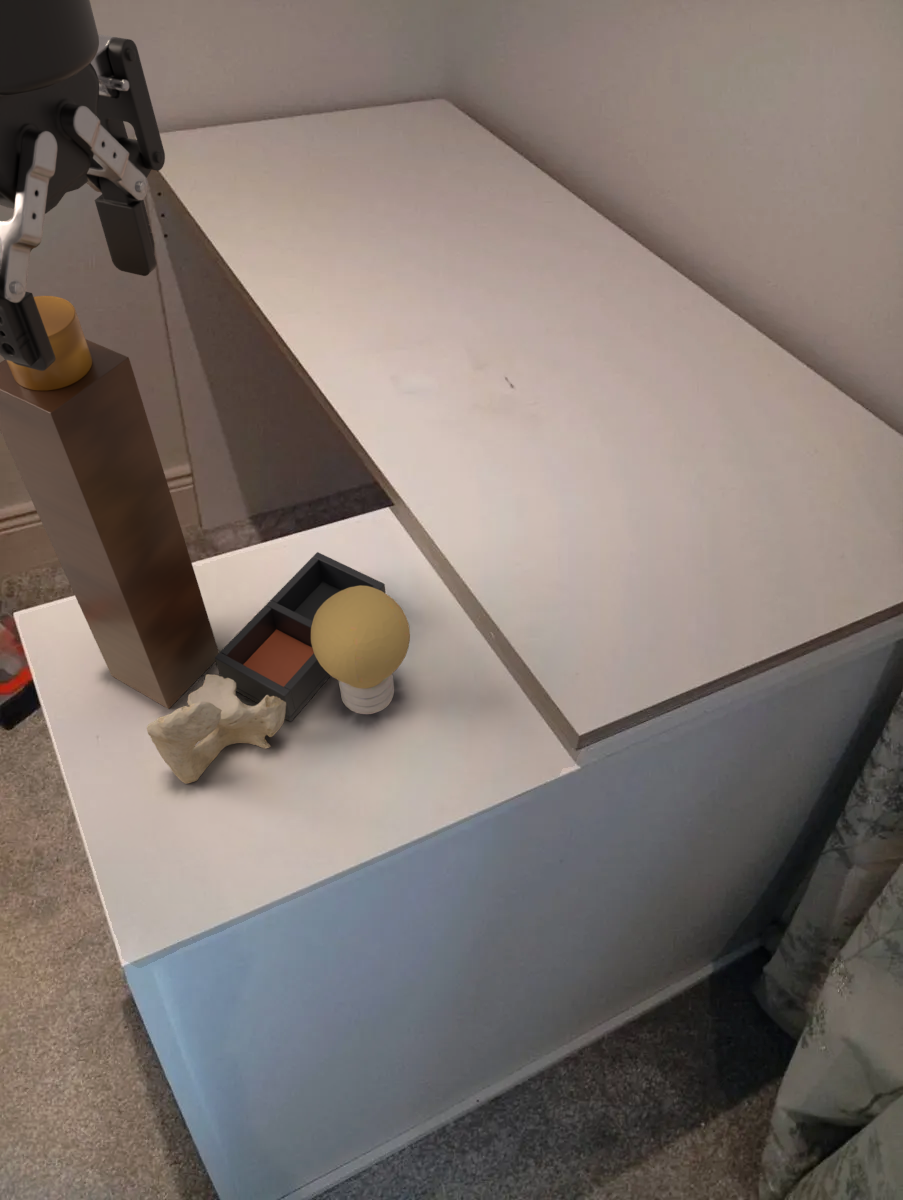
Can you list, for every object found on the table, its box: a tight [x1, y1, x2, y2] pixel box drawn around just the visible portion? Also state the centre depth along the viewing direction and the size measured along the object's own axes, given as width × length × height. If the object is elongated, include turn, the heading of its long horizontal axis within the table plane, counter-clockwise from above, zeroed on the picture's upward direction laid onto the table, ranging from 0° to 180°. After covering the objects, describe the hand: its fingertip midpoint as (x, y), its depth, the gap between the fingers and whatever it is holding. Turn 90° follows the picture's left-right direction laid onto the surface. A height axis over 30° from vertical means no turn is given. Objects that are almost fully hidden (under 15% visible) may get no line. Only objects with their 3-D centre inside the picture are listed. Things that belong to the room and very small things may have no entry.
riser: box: [0, 338, 220, 710], centre depth 61 cm, size 6×6×26 cm
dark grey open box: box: [215, 551, 386, 722], centre depth 71 cm, size 12×6×3 cm, turn 148°
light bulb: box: [311, 586, 411, 715], centre depth 65 cm, size 6×6×10 cm
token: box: [7, 295, 92, 391], centre depth 50 cm, size 4×4×3 cm
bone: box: [146, 673, 286, 785], centre depth 63 cm, size 9×6×10 cm
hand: (87, 314), depth 48 cm, fingers open, 8 cm apart
